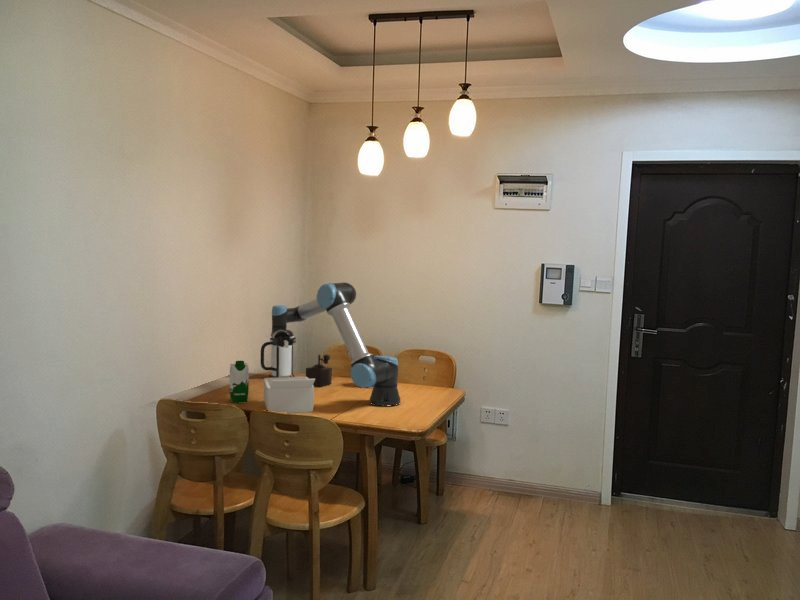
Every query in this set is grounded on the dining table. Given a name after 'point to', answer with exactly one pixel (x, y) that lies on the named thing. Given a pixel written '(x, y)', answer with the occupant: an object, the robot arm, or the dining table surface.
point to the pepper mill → (320, 372)
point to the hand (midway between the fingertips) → (286, 344)
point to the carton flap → (292, 383)
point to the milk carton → (239, 382)
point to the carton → (288, 397)
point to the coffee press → (279, 359)
